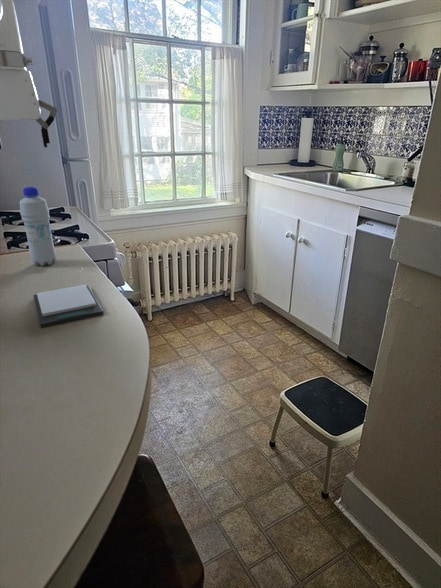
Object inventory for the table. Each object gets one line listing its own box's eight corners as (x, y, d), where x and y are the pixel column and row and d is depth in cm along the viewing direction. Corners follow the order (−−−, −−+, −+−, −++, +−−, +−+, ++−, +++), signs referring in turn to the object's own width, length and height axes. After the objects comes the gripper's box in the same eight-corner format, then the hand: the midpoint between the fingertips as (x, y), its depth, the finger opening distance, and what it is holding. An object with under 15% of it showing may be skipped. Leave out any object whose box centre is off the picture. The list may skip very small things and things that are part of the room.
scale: (35, 305, 81) (32, 292, 80) (89, 295, 86) (87, 282, 85) (42, 335, 70) (39, 321, 69) (104, 322, 75) (102, 308, 73)
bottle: (25, 264, 104) (9, 187, 95) (48, 257, 109) (34, 183, 100) (40, 269, 100) (24, 189, 92) (63, 262, 105) (50, 186, 97)
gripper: (49, 66, 90) (62, 145, 98) (-38, 63, 84) (-17, 147, 92) (49, 62, 84) (63, 147, 91) (-44, 59, 78) (-21, 150, 85)
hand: (23, 147), depth 91 cm, fingers open, 9 cm apart
